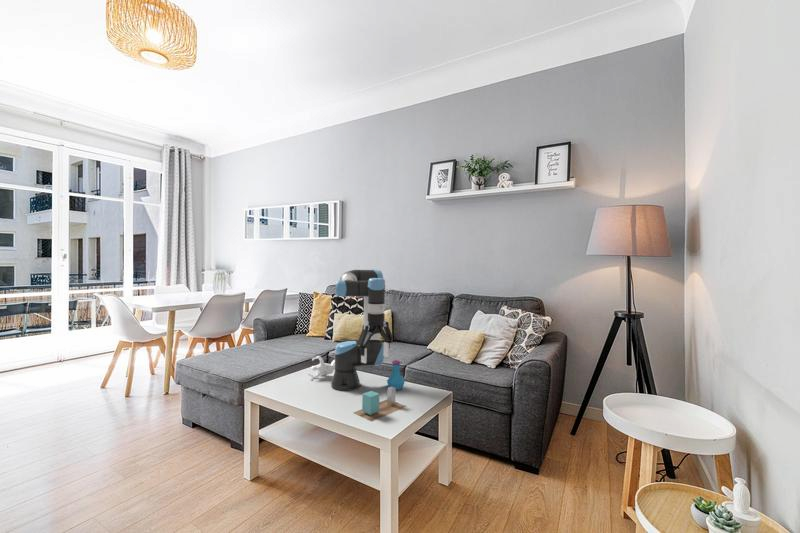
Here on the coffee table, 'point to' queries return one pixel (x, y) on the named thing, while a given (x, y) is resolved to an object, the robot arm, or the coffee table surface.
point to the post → (391, 396)
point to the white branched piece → (322, 367)
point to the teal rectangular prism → (370, 402)
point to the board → (380, 411)
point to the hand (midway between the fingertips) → (375, 359)
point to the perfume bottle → (396, 377)
